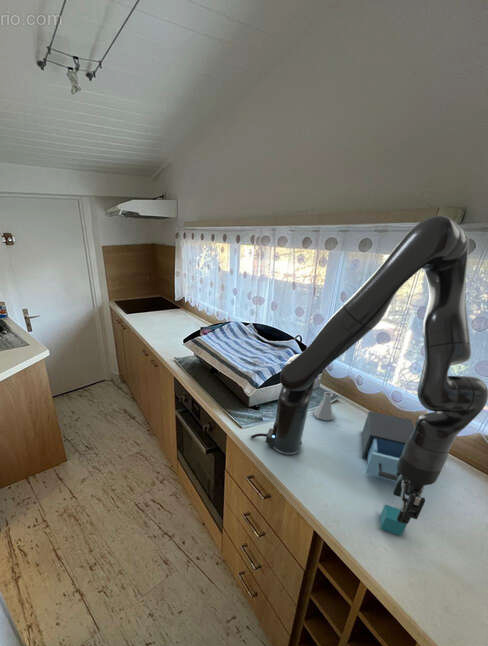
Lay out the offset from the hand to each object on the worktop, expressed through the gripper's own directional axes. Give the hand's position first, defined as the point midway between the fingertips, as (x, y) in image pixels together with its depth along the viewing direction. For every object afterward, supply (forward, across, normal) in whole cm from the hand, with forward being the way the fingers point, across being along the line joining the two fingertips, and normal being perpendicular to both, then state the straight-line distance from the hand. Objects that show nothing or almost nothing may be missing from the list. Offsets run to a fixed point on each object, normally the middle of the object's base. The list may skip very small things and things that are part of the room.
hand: (399, 507), depth 75 cm
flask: (+6, +45, +20) cm, 50 cm away
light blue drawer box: (+6, +20, 0) cm, 21 cm away
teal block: (+6, 0, 0) cm, 7 cm away
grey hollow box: (+6, +32, 0) cm, 32 cm away
